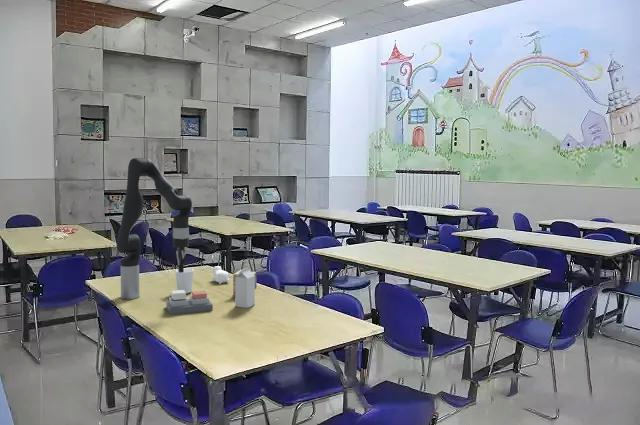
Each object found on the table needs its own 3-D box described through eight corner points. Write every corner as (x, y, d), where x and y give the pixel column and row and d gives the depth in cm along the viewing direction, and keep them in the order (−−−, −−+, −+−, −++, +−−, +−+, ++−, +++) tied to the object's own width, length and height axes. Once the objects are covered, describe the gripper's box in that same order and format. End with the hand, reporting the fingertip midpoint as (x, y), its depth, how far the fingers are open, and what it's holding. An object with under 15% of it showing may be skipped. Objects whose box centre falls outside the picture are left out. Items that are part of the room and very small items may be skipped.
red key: (194, 300, 254) (194, 294, 254) (192, 297, 259) (192, 291, 259) (206, 299, 256) (206, 293, 256) (204, 296, 262) (204, 290, 261)
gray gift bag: (246, 287, 303) (246, 266, 302) (256, 287, 302) (256, 266, 301) (233, 296, 282) (233, 273, 281) (244, 296, 281) (244, 274, 280)
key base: (170, 314, 246) (170, 303, 245) (166, 307, 259) (166, 296, 258) (212, 310, 254) (212, 299, 253) (206, 303, 267) (206, 292, 266)
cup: (183, 296, 280) (182, 272, 279) (171, 293, 286) (171, 270, 284) (197, 292, 288) (197, 270, 286) (186, 289, 294) (186, 267, 292)
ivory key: (173, 299, 250) (173, 293, 249) (171, 296, 255) (171, 290, 255) (185, 298, 252) (185, 292, 252) (183, 295, 258) (183, 289, 257)
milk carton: (254, 304, 265) (254, 268, 263) (247, 308, 259) (247, 270, 257) (242, 303, 268) (242, 266, 266) (235, 306, 262) (235, 269, 260)
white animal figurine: (230, 287, 313) (221, 274, 324) (232, 275, 310) (223, 262, 321) (216, 289, 309) (208, 275, 320) (218, 277, 305) (210, 263, 316)
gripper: (170, 235, 256) (170, 269, 258) (175, 239, 244) (175, 275, 246) (186, 234, 259) (186, 268, 261) (191, 238, 247) (191, 274, 249)
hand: (181, 272), depth 253 cm, fingers closed
